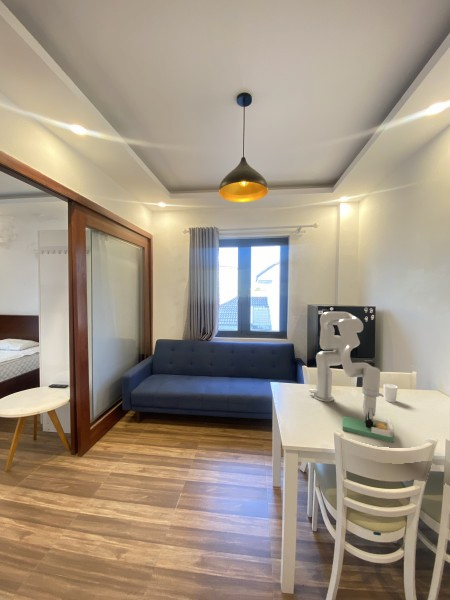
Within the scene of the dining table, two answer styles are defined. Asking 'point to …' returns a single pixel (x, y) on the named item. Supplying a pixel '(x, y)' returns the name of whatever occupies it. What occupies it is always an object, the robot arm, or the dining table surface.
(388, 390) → the white cup
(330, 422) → the dining table surface
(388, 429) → the green
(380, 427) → the ball
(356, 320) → the robot arm
